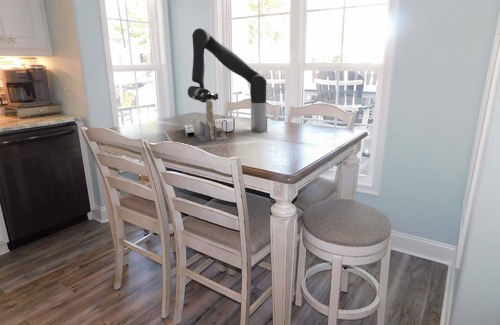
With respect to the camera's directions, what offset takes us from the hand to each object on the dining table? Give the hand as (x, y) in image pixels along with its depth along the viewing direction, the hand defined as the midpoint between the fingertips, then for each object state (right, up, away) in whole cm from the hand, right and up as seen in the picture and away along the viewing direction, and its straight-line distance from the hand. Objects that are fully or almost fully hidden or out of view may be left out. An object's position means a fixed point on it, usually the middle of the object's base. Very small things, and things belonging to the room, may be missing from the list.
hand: (209, 98), depth 167 cm
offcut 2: (+2, -16, +17) cm, 23 cm away
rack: (-1, -20, +14) cm, 24 cm away
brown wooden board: (0, -20, +7) cm, 21 cm away
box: (-14, -19, +19) cm, 30 cm away
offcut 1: (+2, -14, +17) cm, 22 cm away
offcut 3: (+2, -17, +17) cm, 24 cm away
